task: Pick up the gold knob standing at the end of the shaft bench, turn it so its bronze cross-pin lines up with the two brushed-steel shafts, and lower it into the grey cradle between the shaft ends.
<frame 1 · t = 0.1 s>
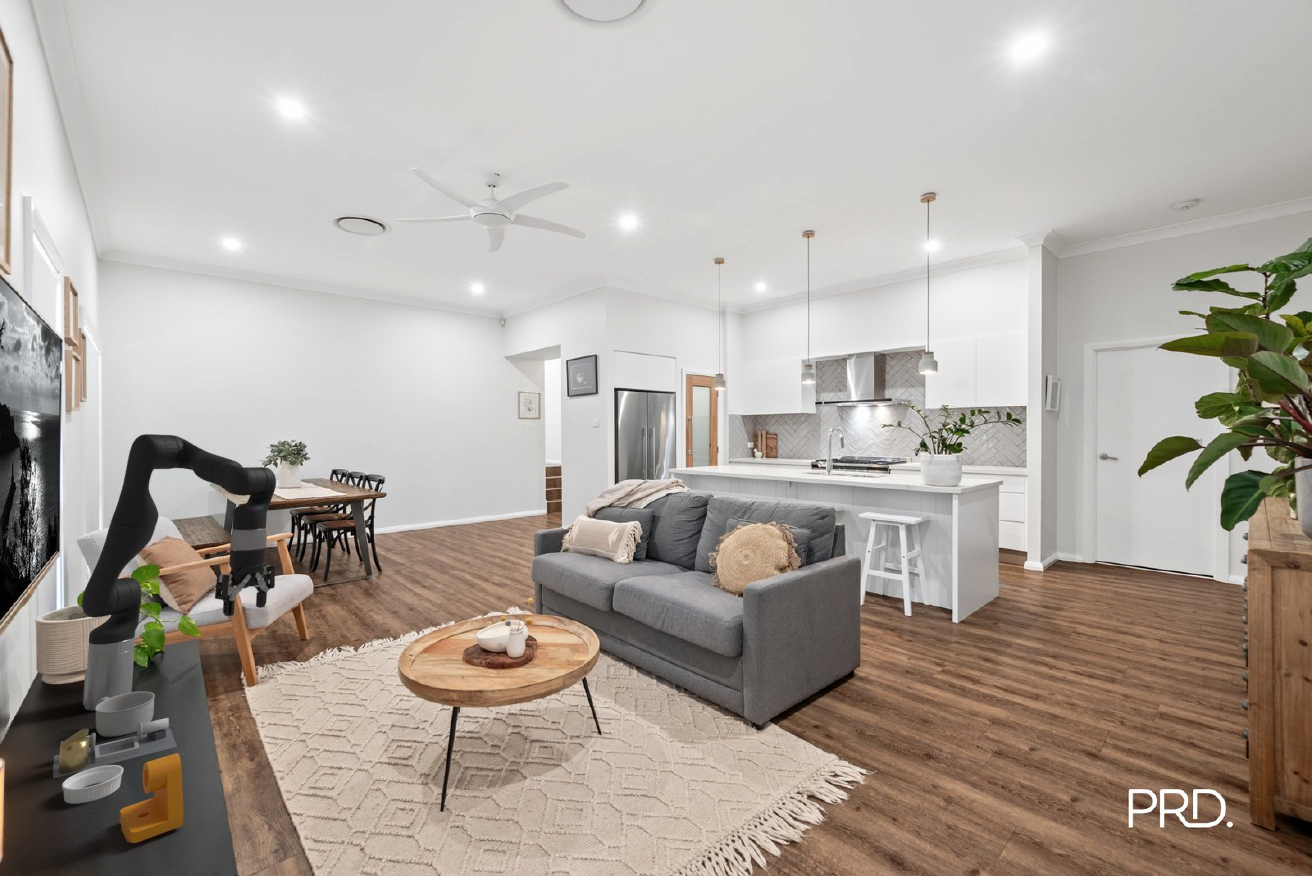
hand: (245, 611, 149), 29 cm above the table, fingers open, 8 cm apart
teacup: (120, 732, 145), on the table
gold knob: (73, 768, 126), point 1 cm above the table, touching shaft bench
bracket: (150, 828, 110), on the table
shaft bench: (116, 756, 133), on the table
ramekin: (92, 799, 118), on the table
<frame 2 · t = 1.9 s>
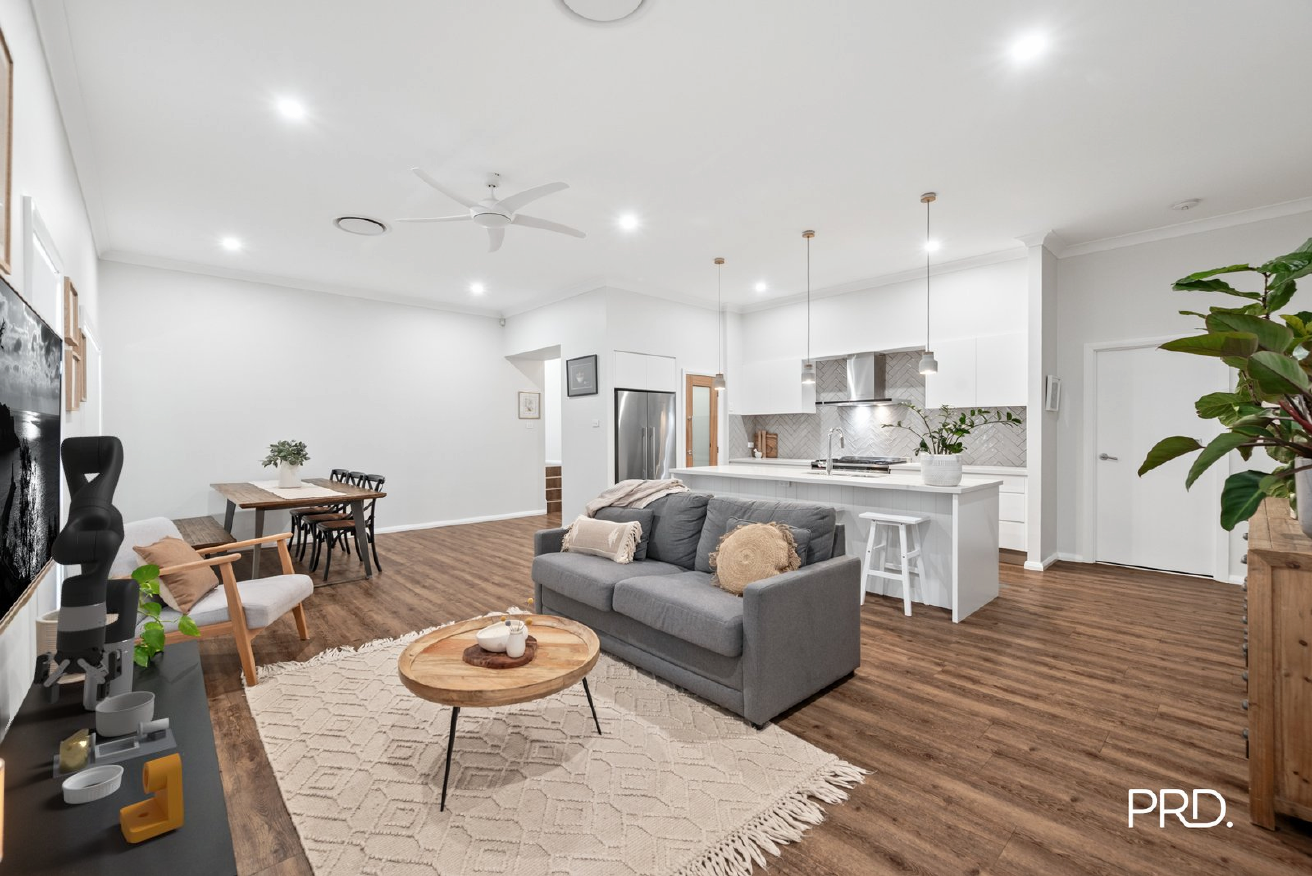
hand: (77, 701, 126), 15 cm above the table, fingers open, 8 cm apart
nothing on the table moved.
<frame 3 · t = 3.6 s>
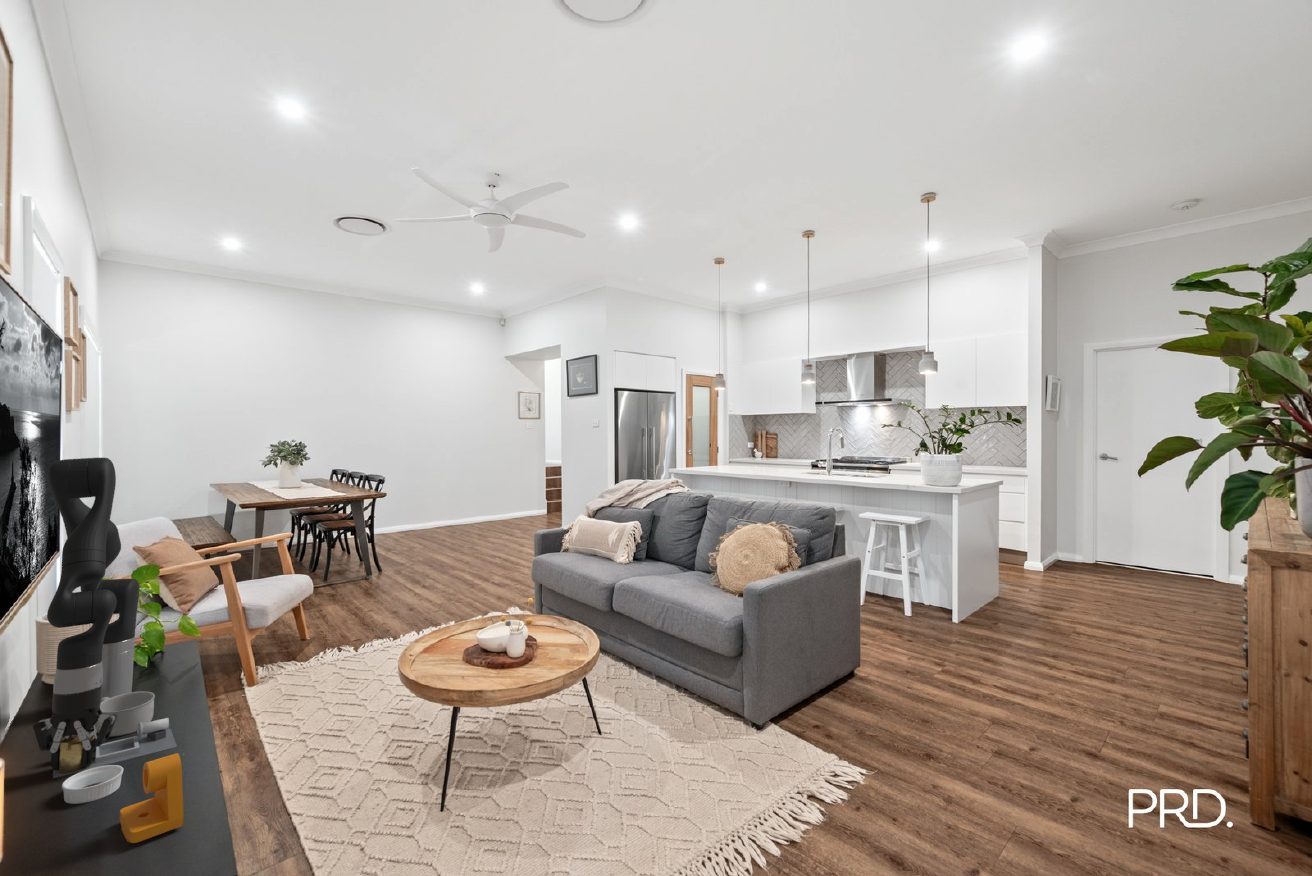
hand: (73, 766, 126), 2 cm above the table, fingers closed on gold knob, 4 cm apart
gold knob: (73, 768, 126), point 1 cm above the table, touching gripper, shaft bench
everything else where it was.
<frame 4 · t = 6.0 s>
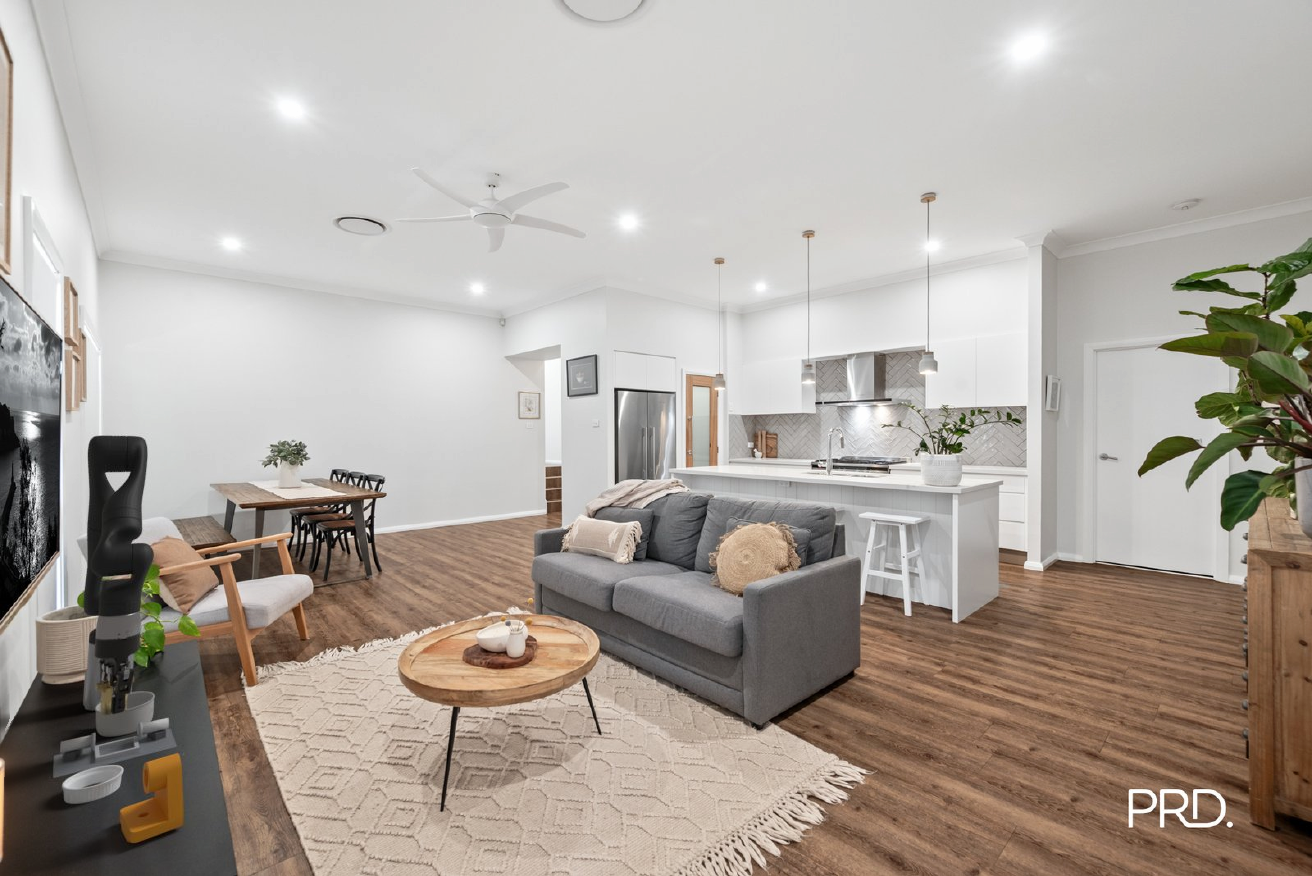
hand: (113, 709, 133), 11 cm above the table, fingers closed on gold knob, 4 cm apart
gold knob: (113, 710, 133), point 10 cm above the table, touching gripper
everything else where it was.
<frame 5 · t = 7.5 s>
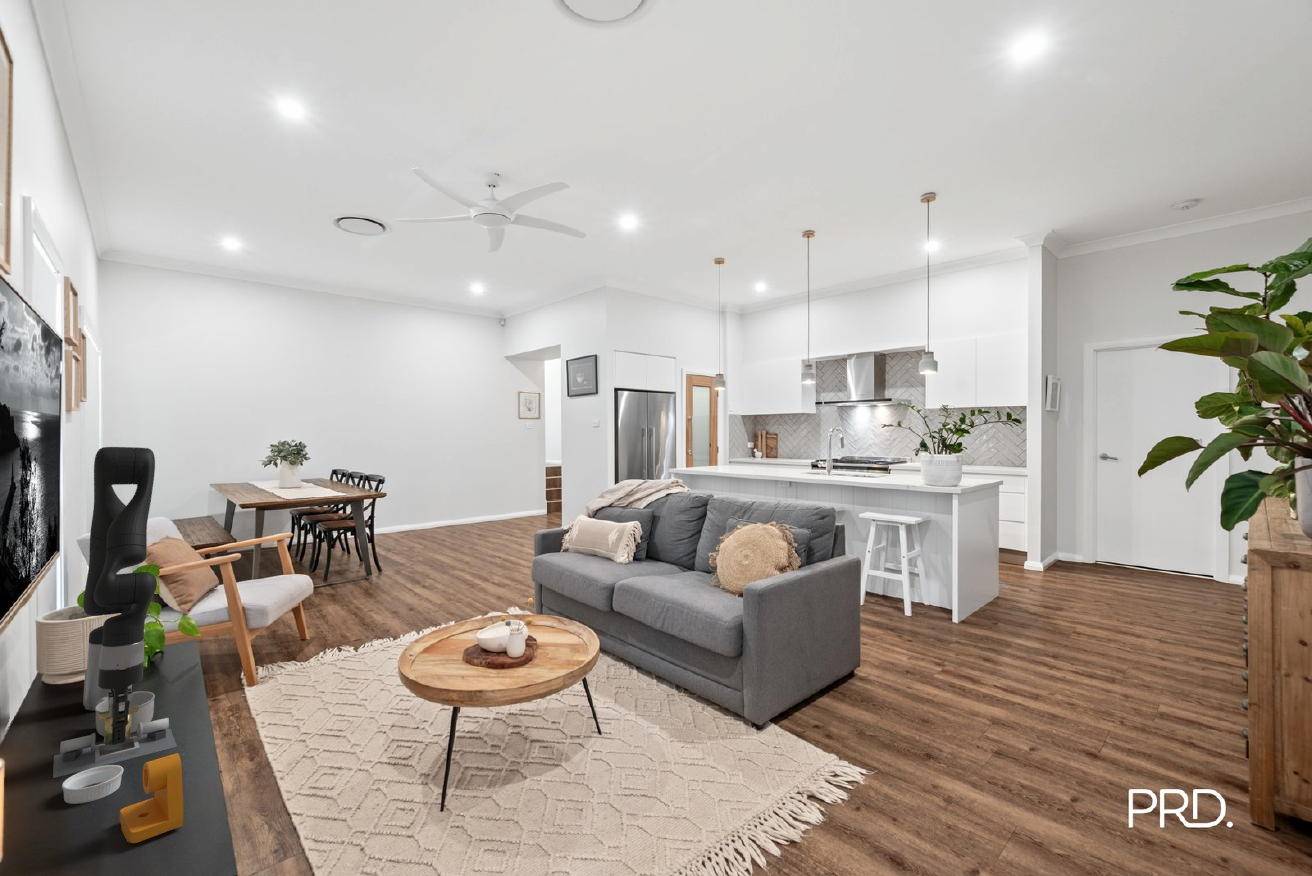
hand: (117, 738, 133), 4 cm above the table, fingers closed on gold knob, 4 cm apart
gold knob: (117, 740, 133), point 4 cm above the table, touching gripper
everything else where it was.
when the fingers open (3 cm above the table, at t = 8.6 s): gold knob drops 1 cm, resting on shaft bench.
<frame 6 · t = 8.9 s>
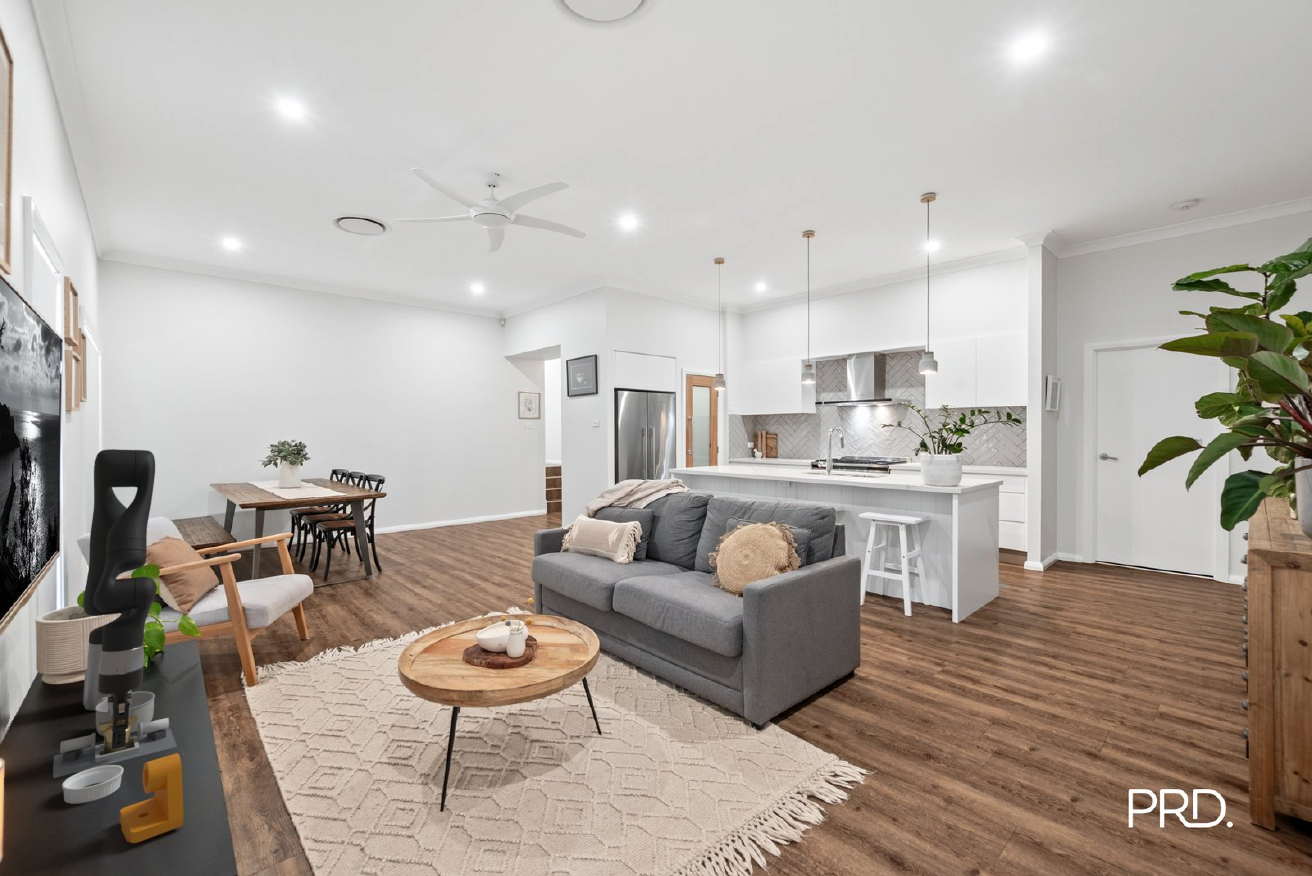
hand: (117, 740, 133), 3 cm above the table, fingers open, 7 cm apart
gold knob: (116, 750, 134), point 1 cm above the table, touching shaft bench
everything else where it was.
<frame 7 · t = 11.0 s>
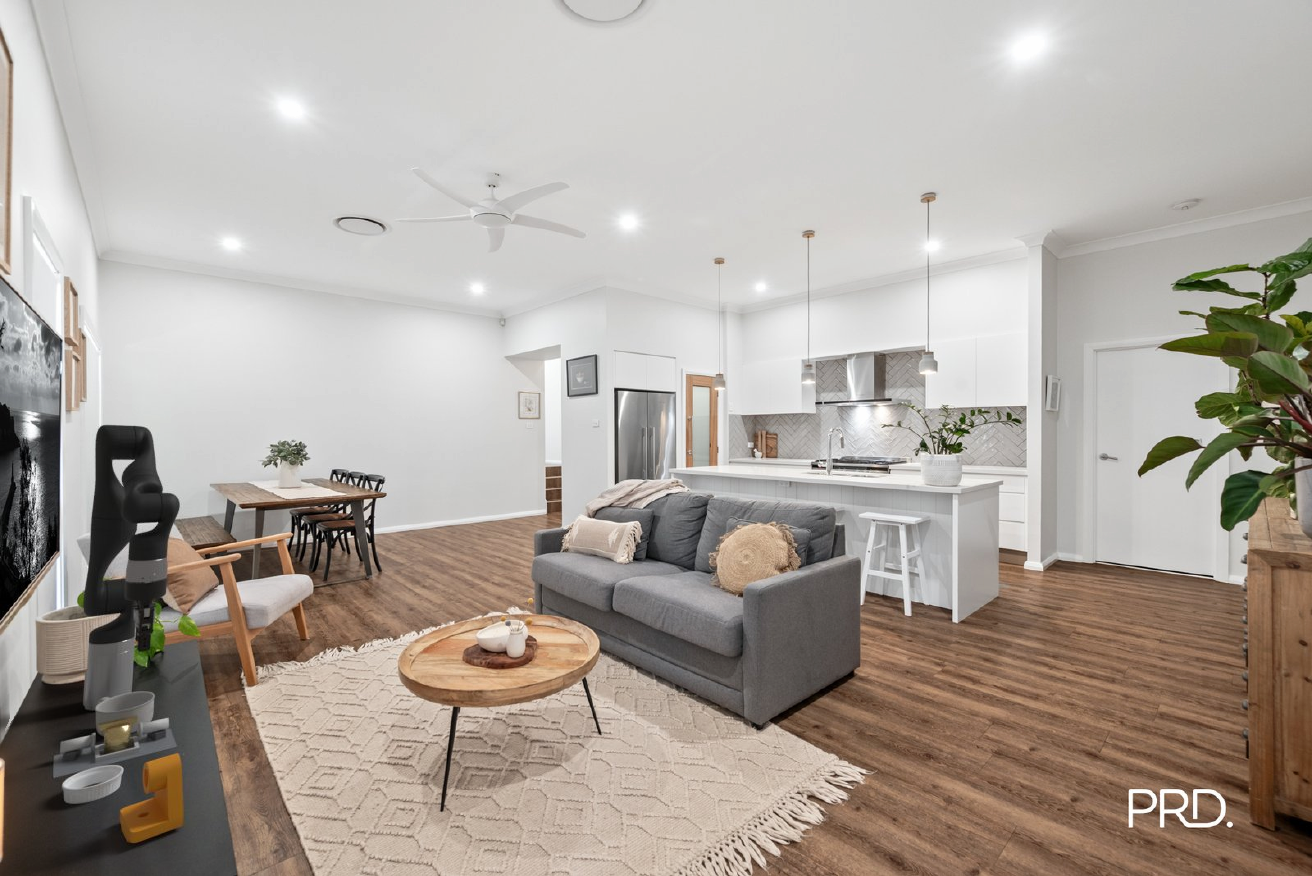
hand: (142, 645, 140), 23 cm above the table, fingers open, 8 cm apart
nothing on the table moved.
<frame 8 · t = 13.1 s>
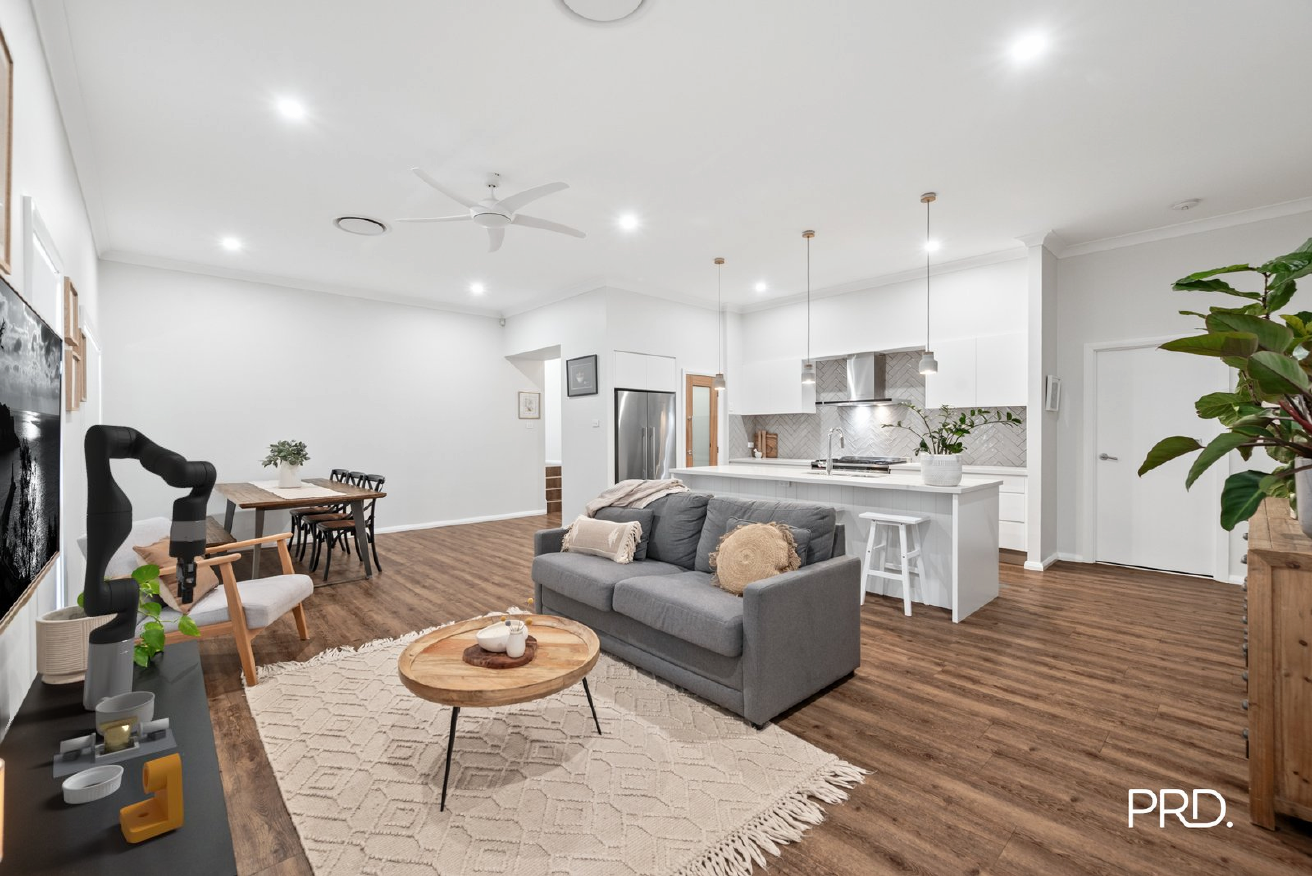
hand: (184, 600, 154), 30 cm above the table, fingers open, 8 cm apart
nothing on the table moved.
at the end: gold knob 0.2 cm off-centre on the shaft bench, point 1.2 cm above the shaft bench's base; gold knob tilted 0°; the gripper is holding nothing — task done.
